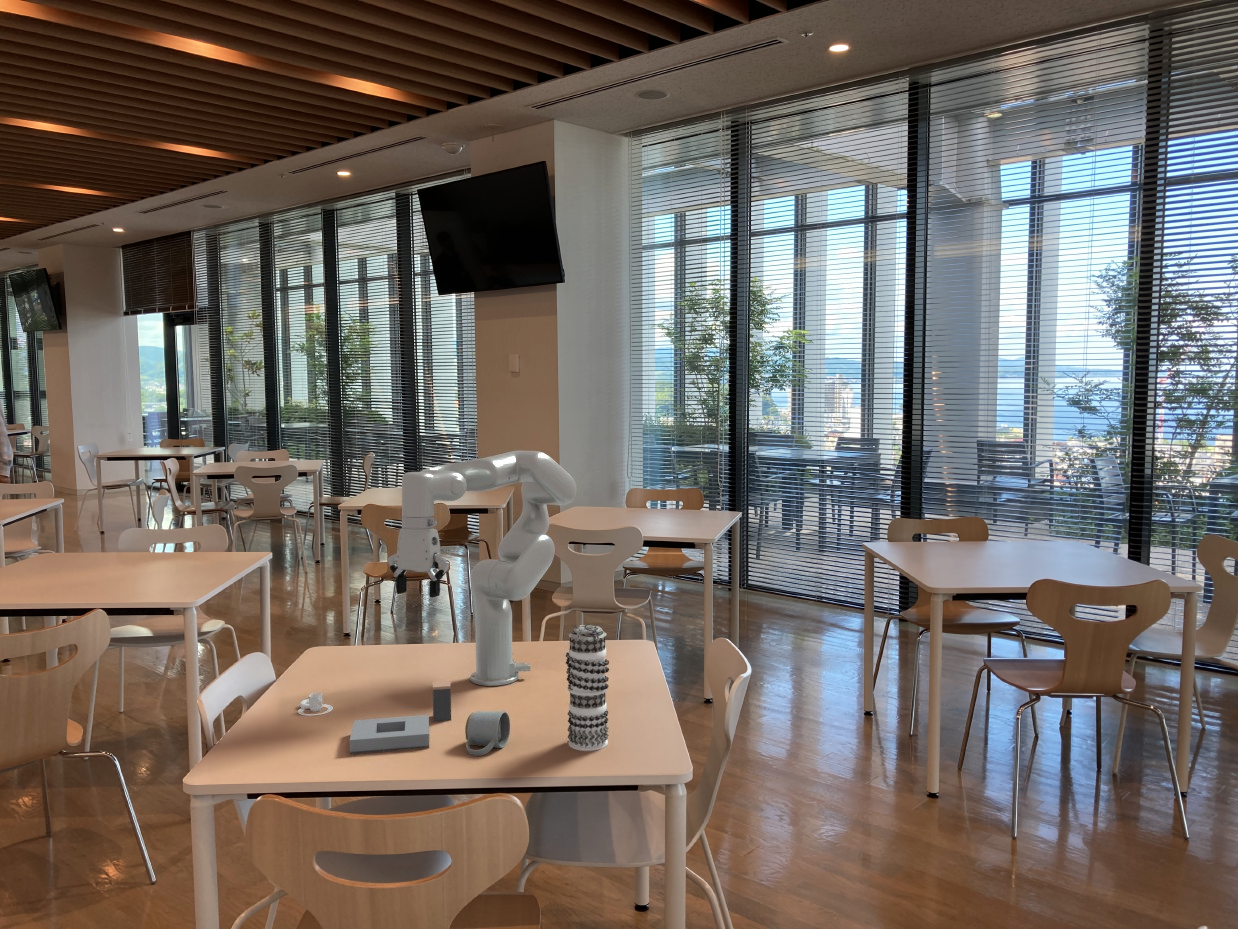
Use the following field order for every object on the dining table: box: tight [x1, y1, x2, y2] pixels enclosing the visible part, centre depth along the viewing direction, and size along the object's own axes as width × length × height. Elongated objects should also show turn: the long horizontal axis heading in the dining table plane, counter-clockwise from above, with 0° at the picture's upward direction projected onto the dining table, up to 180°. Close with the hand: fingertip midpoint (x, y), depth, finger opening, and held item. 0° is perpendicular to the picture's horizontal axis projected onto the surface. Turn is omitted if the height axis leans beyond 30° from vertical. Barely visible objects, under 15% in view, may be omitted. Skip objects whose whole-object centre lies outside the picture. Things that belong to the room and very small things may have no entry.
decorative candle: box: [565, 624, 610, 752], centre depth 190 cm, size 9×9×25 cm
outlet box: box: [349, 714, 430, 755], centre depth 193 cm, size 16×12×3 cm
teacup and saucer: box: [297, 692, 334, 717], centre depth 213 cm, size 9×8×4 cm
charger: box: [432, 680, 452, 723], centre depth 207 cm, size 4×4×8 cm
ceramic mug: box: [464, 710, 511, 757], centre depth 188 cm, size 10×8×7 cm
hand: (417, 594), depth 215 cm, fingers open, 9 cm apart
